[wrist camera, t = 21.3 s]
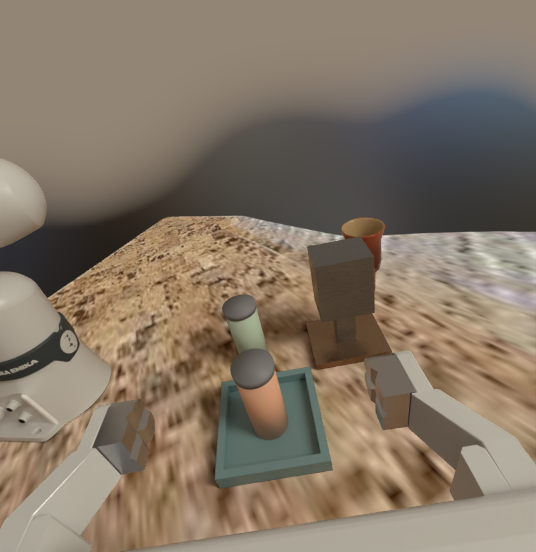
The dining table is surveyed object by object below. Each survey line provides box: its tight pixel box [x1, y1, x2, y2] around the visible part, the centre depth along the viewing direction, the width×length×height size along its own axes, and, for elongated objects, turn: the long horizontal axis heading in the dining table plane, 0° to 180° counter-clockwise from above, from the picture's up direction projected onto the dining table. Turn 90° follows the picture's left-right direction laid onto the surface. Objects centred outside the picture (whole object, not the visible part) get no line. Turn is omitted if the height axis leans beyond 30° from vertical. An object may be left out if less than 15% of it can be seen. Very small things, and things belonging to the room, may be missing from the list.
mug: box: [341, 217, 385, 272], centre depth 69 cm, size 12×9×10 cm
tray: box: [215, 367, 333, 488], centre depth 44 cm, size 14×14×2 cm
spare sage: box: [222, 295, 268, 354], centre depth 52 cm, size 5×5×12 cm
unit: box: [306, 236, 392, 370], centre depth 49 cm, size 12×10×18 cm
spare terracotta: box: [230, 349, 288, 440], centre depth 40 cm, size 5×5×12 cm
